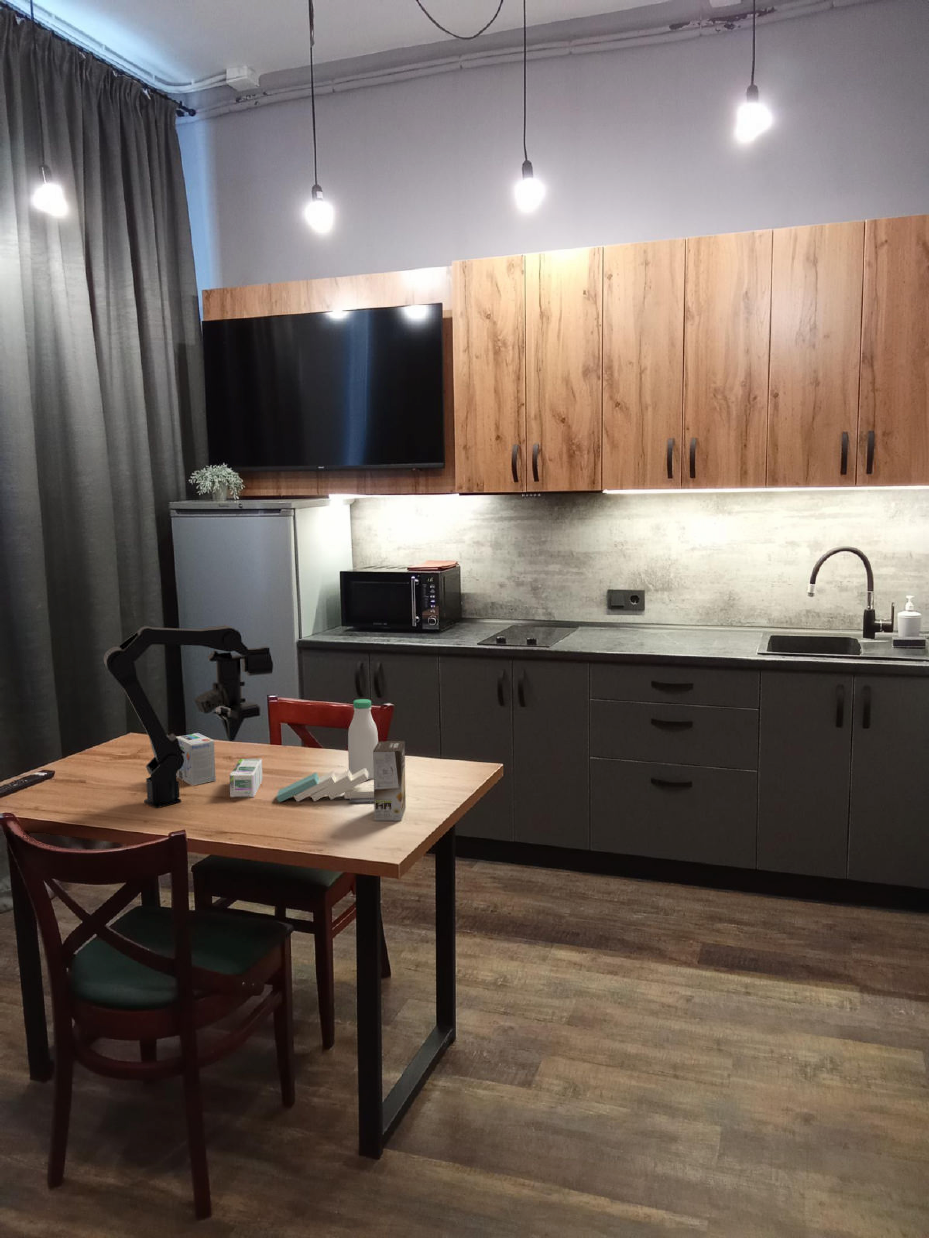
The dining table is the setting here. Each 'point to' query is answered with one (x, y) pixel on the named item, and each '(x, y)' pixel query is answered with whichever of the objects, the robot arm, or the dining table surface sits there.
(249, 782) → the syrup box
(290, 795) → the domino
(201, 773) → the light bulb box
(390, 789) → the coffee box
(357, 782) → the domino
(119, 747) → the dining table surface
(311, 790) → the domino
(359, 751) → the milk bottle
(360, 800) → the mat
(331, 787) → the domino
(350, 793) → the domino
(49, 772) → the dining table surface
